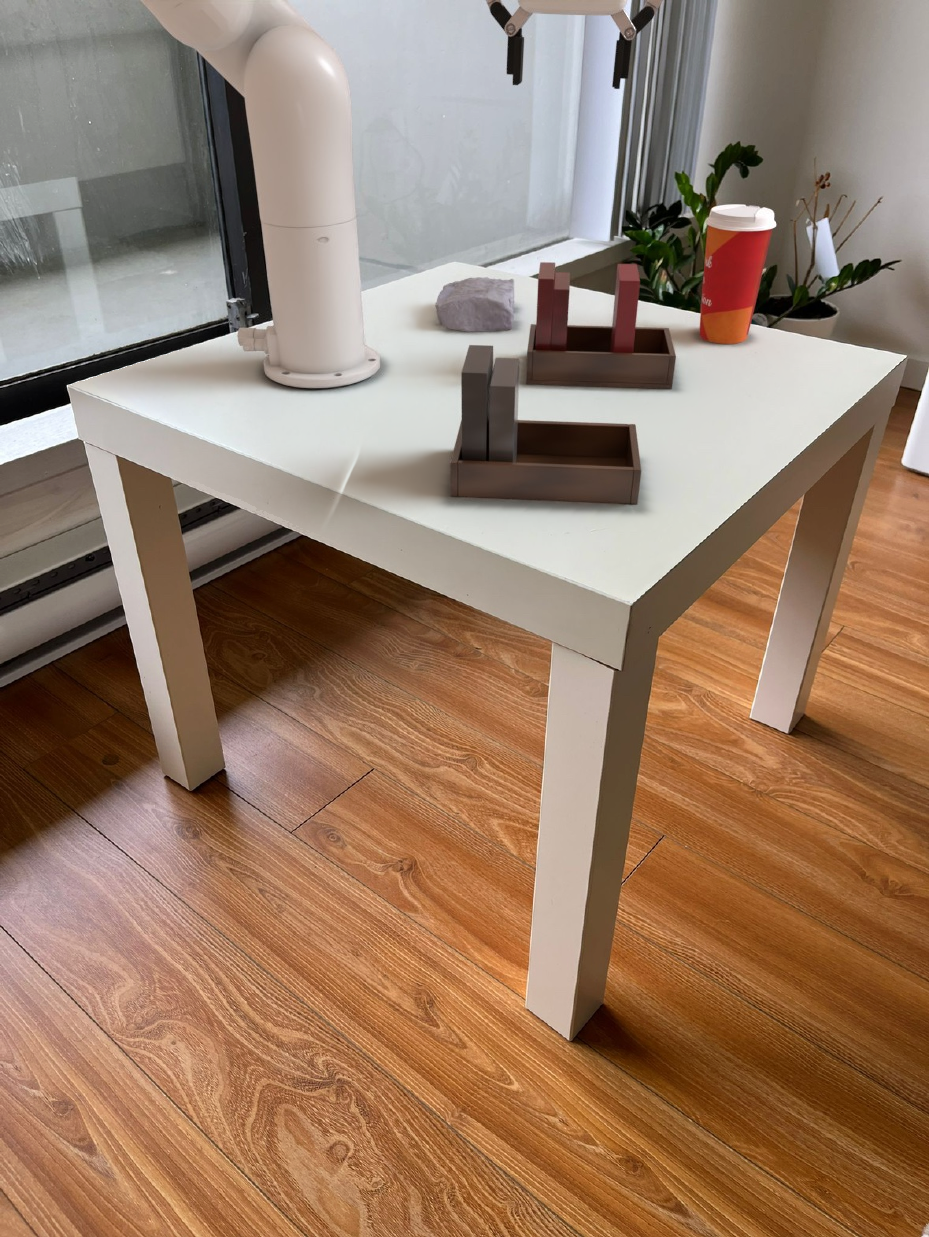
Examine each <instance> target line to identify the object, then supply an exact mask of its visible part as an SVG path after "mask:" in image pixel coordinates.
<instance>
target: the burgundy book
mask: <svg viewBox="0 0 929 1237" xmlns="http://www.w3.org/2000/svg"><path fill="white" fill-rule="evenodd" d="M640 279H641V278H640V273H639V269H638V264H637V263H617V267H616V276H615V287H614V288H615V289H614V300H613V311H612V325H611V326H612V334H611V345H610V352H612V353H633V347H634V337H635V327H637V318H638V305H639V295H640V287H641V280H640Z"/></svg>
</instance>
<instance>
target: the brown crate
mask: <svg viewBox="0 0 929 1237" xmlns="http://www.w3.org/2000/svg"><path fill="white" fill-rule="evenodd" d="M520 361H521V360H520V358H518V357H495V359H494V345H488V344H487V345H486V344H485V345H483V344H469V345H468V348H467V351H466V355H465V359H464V362H463V365H462V370H461V375H460V377H461V378H460V379H461V381H460V383H461V386H460V389H461V391H460V392H461V394H460V395H461V396H460V397H461V419H460V423H459V428H458V432H457V435H456V439H455V443H454V448H453V451H452V454H451V459H450V462H449V466H450V468H449V470H450V471H449V472H450V473H449V474H450V481H449V482H450V497H451V498H467V499H468V498H469V499H489V500H491V499H493V500H517V501H537V502H538V501H539V502H540V501H541V502H560V503H561V502H562V503H563V502H564V503H583V504H584V503H587V504H606V505H607V504H610V505H629V506H630V505H631V506H632V505H633V506H634V505H635V506H637V505H638V504H639V496H640V488H641V479H642V465H641V463H642V462H641V457H640V450H639V449H640V448H639V441H638V440H639V439H638V433H637V426H636V423H615V422H611V423H610V422H609V423H608V422H587V421H586V422H584V421H583V422H581V421H558V420H557V421H553V420H529V419H519V417H518V416H519V394H520V392H519V390H520V389H519V388H520Z"/></svg>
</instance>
